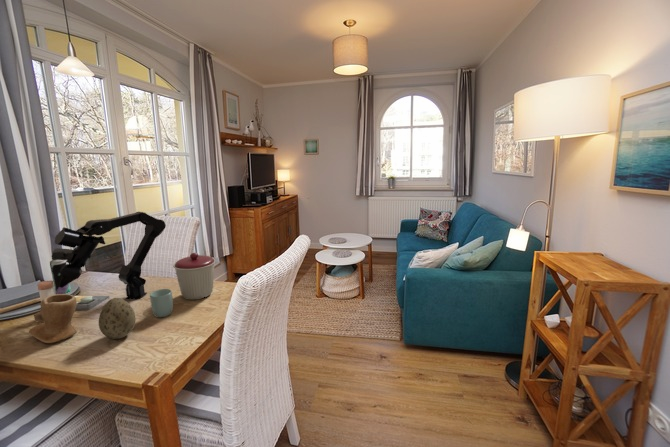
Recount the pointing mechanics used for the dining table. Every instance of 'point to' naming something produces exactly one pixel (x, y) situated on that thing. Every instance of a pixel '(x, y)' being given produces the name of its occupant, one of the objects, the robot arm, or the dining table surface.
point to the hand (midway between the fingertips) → (63, 282)
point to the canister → (195, 276)
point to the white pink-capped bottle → (46, 289)
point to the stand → (38, 317)
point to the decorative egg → (116, 318)
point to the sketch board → (90, 305)
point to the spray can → (58, 276)
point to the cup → (161, 302)
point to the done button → (86, 300)
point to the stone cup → (55, 318)
